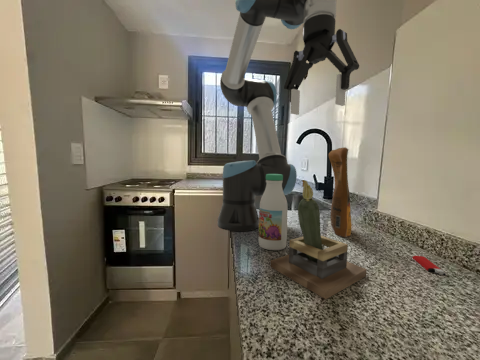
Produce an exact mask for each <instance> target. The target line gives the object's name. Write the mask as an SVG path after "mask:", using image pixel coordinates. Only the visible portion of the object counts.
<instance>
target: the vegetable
mask: <svg viewBox="0 0 480 360" xmlns="http://www.w3.org/2000/svg"><path fill="white" fill-rule="evenodd" d="M301 182H302V186H301V187H303V188H302V198H301V200H300V201H299V203H298V205H297V206H298V207H297V216H298V223H299V227H300V231H301V234H302V236H303V238H304V243H305V244H307V245H310V246H313V247H315V248H318V249H320V250H323V249H324V248H323V245H322V241H321V236H322V235H321V213H320V207H319V205H318V203H317V201H316V200H315V199H313V197H314V191H313V189H312V187H311V185H309V183H308V181H307V180H305V179H302V180H301ZM307 258H308V259H309V260H311V261H314V262H316V263H317V258H314V257H312V256H310V255H307Z"/></svg>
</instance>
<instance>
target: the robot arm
mask: <svg viewBox="0 0 480 360" xmlns="http://www.w3.org/2000/svg"><path fill="white" fill-rule="evenodd" d="M234 2H235V9H236V11H237V12H239V14H238V19H237V22H236V27H235V31H234V34H233V38H232V42H231V47H230V51H229V55H228V58H227V62H226V67H225V70H223V71H222V73H221V76H220V83H219V84H220V85H219V86H220V90H221V94H222V95H223V97H224V98H225V99H226V101H228V103H229V104H231V105H233V106H236V107H243V108H247V109H246V110H247V113H248V114H249V115H251V117H252V125H253V130H254V134H255V135H254V136H255V142H256V147H257V153H258V157H259V159H258V160H257V161H256V160H255V159H251V160H242V161H241V160H240V161H232V162H227V163H225V164H224V165H223V168H222V176H221V177H222V204H221V208H220V212H219V214H218V217H217V226H218V228H220V229H222V230H223V231H224V230H225V231H229V232H249V231H253V230H254V231H255V230H257V229H259V213H258V210H257V207H256V197H262V196H263V193H264V191H265V189H266V184H267V183H266V174H282V175H283V180H282V181H283V182H282V189H283V192H284V195H285V196H287V195H290V194H291V193H292V192H293V190H294V188H295V187H296V182H297V176H298V175H297V168H296V167H295V165H293V164H291V163H288V160H287V157H286V156H285V154H284V155H283V154H282V151H281V148H280V146H281V145H280V143H279V137H278V133H277V129H276V125H275V119H274V116H273V109H274V107H275V105H276V103H277V97H278V96H277V94H278V92H277V89H276V85H275V84H274V83H273V82H272V81H268V80H266V79H252V78H245V75H246V73H247V69H248V67H249V63H250V62H251V58H252V55H253V53H254V50H255V47H256V45H257V41H258V39H259V36H260V33H261V31H262V29H263V25H264V24H265V20H266V18H272V19H276V20H280V21H281V23H282V25H283V26H285V27H286V29H288V30H295V29H297V28H299V27H300V26H303V29H302V40H303V45H304V46H303V49H302V50H300V51H298V50H295V51H293V59H292V63H291V64H290V65H291V66H290V69H289V71H288V74H287V77H286V80H285V83H284V86H283V89H284V90H287V91H289V100H288V101H289V103H290V113H289V114H291V115H296V116H298V115H300V100H301V99H300V98H301V90H299V87H300V86H301V84H302V83H303V81H304V79H305V77H306V76H307V74H308V72H309V71H310V69H312V67H313V66H314V65H316V64H318V63H320V62H323V61H325V60H326V59H327V60H328V61H329V62H330V63H331V64H332V65H333V66H334V67H335V68H336V69H337V70H338V72H339V73H338V74H336V81H335V82H336V83H335V85H336V86H335V88H336V89H335V100H334V101H335V102H334V105H337V106H341V107H343V106H346V92H347V91H346V90H349V88H350V81H351V80H350V78H351V77H350V76H351V74H352V73H353V72H354V71H358V69H360V64H359V62H358V59H357V58H356V56H355V54H354V51H353V50H352V48H351V46H350V44H349V42H348V33H347V32H346V31H344V30H342V29H341V28H339V29H337V30H336V17H337V0H235V1H234ZM302 24H303V25H302ZM335 44H337V45H338V48H339V49H340V52H341V55H342V56H343V58H344V60H345V62H346V64H347V65H346V64H345V63H344V62H343V61H342V60H341V59H340V58H339V57H338V55H337V54H336V53H335V52H334V51H333V47H334V45H335Z"/></svg>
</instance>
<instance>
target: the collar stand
mask: <svg viewBox="0 0 480 360" xmlns="http://www.w3.org/2000/svg"><path fill="white" fill-rule="evenodd" d="M321 241H322V246H326V248H323V250H320V249H318V248H315V247H313V246H310V245H307V244H305V243H304V238H303V235H302V236H299V237H296V238H292V239H289V248H288V254H287V255H283V256H279V257H277V258H274V259H270V267H269V268H271V269H273V270H275V271H276V272H278V273H280V274H281V275H283V276H284V277H287V278H288V279H290V280H292V281H293V282H295V283H297V284H299V285H301V286H302V287H304V288H305V289H307V290H309V291H311V292H312V293H314V294H316V295H318V296H319V297H321V298H322V299H325V300H328V299H330V298H331V297H333V296H334V295H336V294H338V293H339V292H342V291H343V290H344V289H346V288H349V287H350V286H351V285H354V284H355V283H357V282H359V281H361V280H363V279H364V278H366V277H367V272H368V271H367V268H365V267H362V266H360V265H357V264H354V263H352V262H349V261H348V250H349V249H348V248H349V247H348V246H349V245H348V244H347V243H345V242H343V241H342V242H341V241H339V240H337V239H332V238H330V237H327V236H324V235H321ZM307 255H310V256H312V257H314V258H317V263H316V262H314V261H311V260H309V259H308V258H307Z"/></svg>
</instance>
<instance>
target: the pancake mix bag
mask: <svg viewBox="0 0 480 360" xmlns="http://www.w3.org/2000/svg"><path fill="white" fill-rule="evenodd" d="M349 150H350V149H349V148H347V147H346V146H345V147H344V146H343V147H339V148H335V149H332V150H331V151H330V152H329V153H328V158H329V161H330V162H329V163H330V165H331V169H332V171H333V178H334V189H333V192H332V193H333V195H332V200H331V205H330V224H331V228H332V229H333V231H334V234H335V236H338V237H341V238H346V239H347V237H350V236H351V233H352V228H353V227H352V226H353V224H352V212H351V211H352V210H351V197H350V189H349V188H350V187H349V182H348V180H349V179H348V178H349V177H348V154H349Z"/></svg>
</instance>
